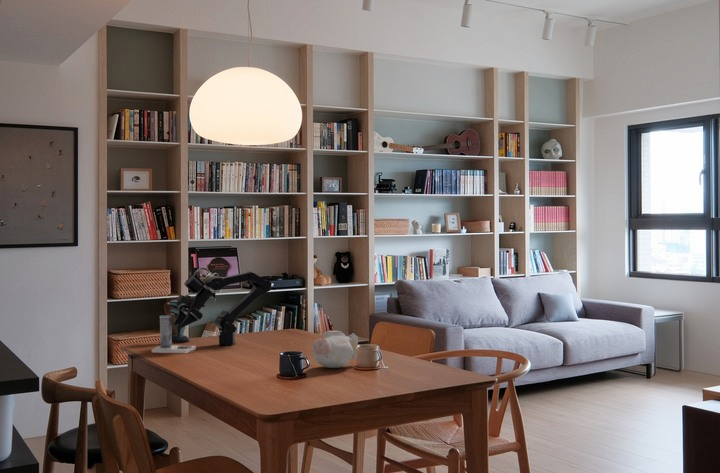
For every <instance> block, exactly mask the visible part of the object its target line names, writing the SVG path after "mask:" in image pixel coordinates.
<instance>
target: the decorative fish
mask: <svg viewBox="0 0 720 473" xmlns="http://www.w3.org/2000/svg"><path fill="white" fill-rule="evenodd" d="M322 336H323V338H317V339H315V340H314V341H313V343H312V347H311V350H312V352H313V358H314V360H315V362H316V363H317V364H319V365H321V366H322V367H324V368H328V369H339V368H341V367H344V366H347V365H348V364H349V363H350V362H351V360H352V358H353V359H356V360H358V359H357V349H358V350H359V347H358V343H359V336H358V335H357V334H355V333H354V332H352V333H351V334H350V335H345V333H343V332H342V331H340V330H327V331H325V332H323V335H322Z"/></svg>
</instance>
